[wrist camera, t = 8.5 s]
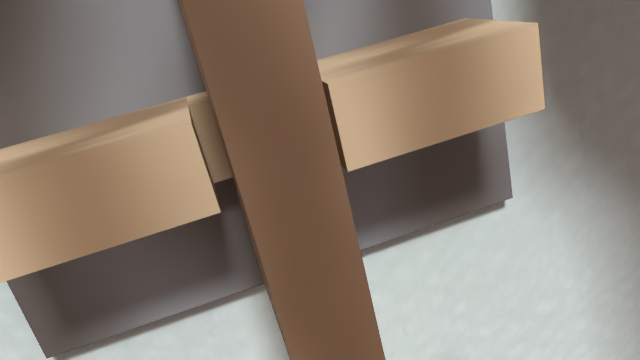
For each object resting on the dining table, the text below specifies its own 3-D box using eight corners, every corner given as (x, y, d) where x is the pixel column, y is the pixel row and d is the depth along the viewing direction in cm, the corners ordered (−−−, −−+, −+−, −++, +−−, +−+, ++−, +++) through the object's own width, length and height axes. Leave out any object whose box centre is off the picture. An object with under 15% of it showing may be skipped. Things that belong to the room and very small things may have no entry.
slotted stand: (465, -138, 18) (557, -181, 14) (504, 192, 22) (583, 238, 18) (-129, -2, 15) (-246, -2, 11) (50, 348, 19) (17, 446, 15)
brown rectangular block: (238, -83, 16) (274, -124, 11) (327, 265, 20) (386, 364, 15) (157, -65, 16) (151, -98, 10) (265, 286, 20) (302, 395, 15)
